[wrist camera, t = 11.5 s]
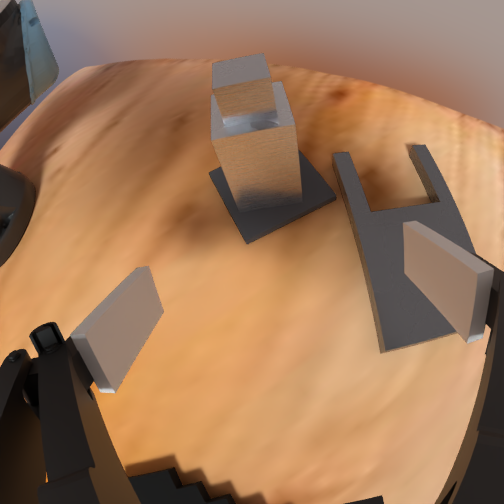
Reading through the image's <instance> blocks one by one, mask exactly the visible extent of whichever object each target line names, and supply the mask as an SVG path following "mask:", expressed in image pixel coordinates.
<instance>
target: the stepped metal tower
mask: <svg viewBox="0 0 504 504" xmlns="http://www.w3.org/2000/svg"><path fill="white" fill-rule="evenodd" d="M212 90H213V93H214V94H213V95H211V142H212V144H213V147H214V149H215V152H216V154H217V157H218V159H219V162H220V164H221V167H222V170H223V172H224V175H225V177H226V180H227V182H228V185H229V187H230V190H231V192H232V195H233V197H234V200H235V202H236V205H237V207H238V210H239V212H240V213H241V212H247V211H252V210H258V209H263V208H269V207H275V206H281V205H287V204H293V203H299V202H303V201H302V188H301V176H300V165H299V154H298V144H297V134H296V125H295V121H294V118H293V115H292V112H291V109H290V105H289V102H288V99H287V96H286V93H285V90H284V87H283V84H282V81H279V82H273V83H272V81H271V76H270V73H269V69H268V66H267V63H266V60H265V56H264V53H262V54H255V55H250V56H245V57H240V58H235V59H230V60H226V61H221V62H217V63H213V64H212Z"/></svg>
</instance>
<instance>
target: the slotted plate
mask: <svg viewBox="0 0 504 504" xmlns="http://www.w3.org/2000/svg"><path fill="white" fill-rule="evenodd" d="M409 156H410V158H411V160H412V162H413V164H414V166H415V168H416V170H417V172H418V174H419V176H420V178H421V180H422V183H423V185H424V187H425V189H426V191H427V193H428V196H429V198H430V200H431V202H432V203H429V204H422V205H415V206H408V207H401V208H395V209H388V210H381V211H374V212H371V211H370V208H369V205H368V202H367V200H366V197H365V194H364V191H363V188H362V185H361V183H360V180H359V177H358V175H357V172H356V169H355V167H354V164H353V162H352V159H351V157H350V154H349V152H342V153H335V154H333V164H332V165H333V168H334V171H335V174H336V177H337V180H338V183H339V186H340V189H341V192H342V196H343V199H344V202H345V205H346V209H347V212H348V215H349V219H350V222H351V226H352V229H353V233H354V237H355V240H356V244H357V248H358V252H359V255H360V259H361V263H362V267H363V271H364V276H365V280H366V284H367V288H368V293H369V297H370V302H371V306H372V311H373V316H374V321H375V326H376V331H377V336H378V342H379V347H380V353H386V352H390V351H394V350H398V349H402V348H406V347H410V346H414V345H418V344H421V343H425V342H429V341H432V340H436V339H439V338H442V337H446V336H449V335H452V334H455V333H458V332H457V331H456V330H455V329H454V327H453V326H452V325H451V324H450V323H449V322H448V320H447V319H446V318H445V317H444V316H443V315H442V314H441V312H440V311H439V310H438V309H437V308H436V307H435V306H434V305H433V303H432V302H431V301H430V300H429V299H428V298H427V297H426V296H425V295H424V294H423V293H422V291H421V290H420V289H419V288H418V287H417V286H416V285H415V284H414V283H413V282H412V281H411V280H410V279H409V278H408V277H407V275H406V274H405V273H404V235H403V223H404V222H410V221H417V222H419V223H421V224H423V225H425V226H426V227H428V228H430V229H431V230H433V231H435V232H437V233H438V234H440V235H442V236H443V237H445V238H447V239H448V240H450V241H452V242H453V243H455V244H456V245H458V246H460V247H461V248H463V249H464V250H466V251H468V252H471V253H474V254H476V252H475V250H474V247H473V244H472V242H471V239H470V236H469V234H468V231H467V229H466V227H465V224H464V222H463V219H462V217H461V215H460V212H459V210H458V208H457V206H456V203H455V201H454V199H453V197H452V195H451V193H450V191H449V189H448V186H447V184H446V182H445V180H444V178H443V176H442V174H441V173H440V171H439V169H438V167H437V165H436V163H435V161H434V159H433V158H432V156H431V154H430V152H429V150H428V149H427V147H426V145H412V148H411V152H410V155H409Z"/></svg>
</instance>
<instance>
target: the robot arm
mask: <svg viewBox="0 0 504 504" xmlns="http://www.w3.org/2000/svg"><path fill="white" fill-rule="evenodd" d="M58 74H59V67H58V65H57V62H56V60H55V57H54V55H53V52H52V50H51V48H50V45H49V43H48V41H47V38H46V36H45V33H44V31H43V28H42V26H41V23H40V21H39V18H38V16H37V13H36V10H35V7H34V5H33V2H32V0H22V1H20V2H19V4H17V3H16V1H15V0H0V132H2V131H3V130H4V129H5V128H6V126H8V125H9V124H10V123H11V122H12V121H13V120H14V119H15V118H16V117H17V116H18V115H19V114H20V113H21V112H23V111H24V110H25V109H26V108H27V107H28V106H29V105H30V104H32V105H33V104H34V103H35V100H36V99H37V98H38V97H39V96H40V95H41V94H43V93H44V92H45V91H46V90H47V89H48V88H49V87H50V86H52V85H53V84H54V83H55V81H56V79H57V77H58ZM34 202H35V187H34V185H33V183H32V182H31V181H30V180H29V179H28V178H27V177H26V176H25V175H23V174H22V173H20V172H16V171H14V170H12V169H10V168H8V167H6V166H3V165H1V164H0V266H1V265H2V264H3V263H4V262H5V261H6V260H7V259H8V257H9V256H10V255H11V253H12V252H13V250H14V249H15V247H16V246H17V244H18V242H19V241H20V239H21V237H22V235H23V233H24V231H25V229H26V227H27V224H28V222H29V219H30V217H31V214H32V210H33V207H34ZM403 235H404V273H405V274H406V275H407V277H408V278H409V279H410V280H411V281H412V282H413V283H414V284H415V285H416V286H417V287H418V288H419V289H420V290H421V291H422V293H423V294H424V295H425V296H426V297H427V298H428V299H429V300H430V301H431V302H432V303H433V305H434V306H435V307H436V308H437V309H438V310H439V311H440V312H441V314H442V315H443V316H444V317H445V318H446V319H447V320H448V322H449V323H450V324H451V325H452V326H453V327H454V329H455V330H456V331H457V332H458V333H459V335H460V336H461V337H462V338H463V339H464V341H465V342H466V343H470V342H473V341H476V340H479V339H481V338H483V334H484V329H485V325H486V324H487V325H488V326H489V327H490V328H491V332H490V337H489V341H488V345H487V349H486V353H485V354H486V359H485V364H484V369H483V373H482V378H481V382H480V386H479V390H478V394H477V398H476V401H475V405H474V408H473V412H472V415H471V418H470V422H469V425H468V428H467V431H466V434H465V437H464V439H463V442H462V445H461V448H460V450H459V453H458V455H457V458H456V460H455V463H454V465H453V468H452V470H451V472H450V475H449V477H448V479H447V481H446V483H445V485H444V488H443V490H442V492H441V493H440V495H439V497H438V499H437V500H436V502H435V504H504V272H503V271H501V270H500V269H498V268H497V267H495V266H494V265H492V264H491V263H489V262H488V261H486V260H483V258H481V257H480V256H478V255H477V254H474V253H471V252H468V251H466V250H464V249H463V248H461V247H460V246H458V245H456V244H455V243H453V242H452V241H450V240H448V239H447V238H445V237H443V236H442V235H440V234H438V233H437V232H435V231H433V230H431V229H430V228H428V227H426V226H425V225H423V224H421V223H419V222H417V221H410V222H404V223H403ZM163 313H164V310H163V307H162V305H161V302H160V299H159V296H158V293H157V290H156V287H155V284H154V281H153V277H152V274H151V271H150V268H149V266H145V267H139V268H136V269H135V270H134V271H133V272H132V273H131V274H130V275H129V276H128V277H127V278H126V279H124V280H123V281H122V282H121V283H120V284H119V285H118V286H117V287H116V288H115V289H114V290H113V291H112V292H111V293H110V294H109V295H108V296H107V297H106V298H105V299H104V300H103V301H102V302H101V303H100V304H99V305H98V306H97V307H96V308H95V309H94V310H93V311H92V312H91V313H90V314H89V315H88V316H87V317H86V318H85V320H84V321H83V322H82V323H81V324H80V325H79V326H78V327H77V328H76V329H75V330H74V331H73V332H72V333H71V334H70V337H69V338H68V339H67V340H66V341H65V340H64V338H63V336H62V334H61V332H60V330H59V328H58V326H57V324H56V323H55V322H49V323H46V324H43V325H41V326H39V327H37V328H36V329H34V330H33V331H32V332H31V333H30V336H29V337H30V339H31V341H32V343H33V345H34V347H35V349H36V351H37V352H38V354H39V356H38V357H37V358H33V359H31V358H30V356H29V354H28V353H27V351H26V350H25V349H19V350H17V351H16V350H15V351H13V352H11V353H10V354H9V355H8V356H7V357H6V358H5V360H4V361H3V363H2V365H1V367H0V504H141V502H140V501H139V499H138V497H137V495H136V493H135V491H134V489H133V487H132V485H131V483H130V481H129V479H128V477H127V475H126V473H125V471H124V469H123V467H122V464H121V462H120V460H119V458H118V455H117V453H116V451H115V449H114V446H113V444H112V441H111V439H110V436H109V434H108V431H107V429H106V426H105V424H104V421H103V418H102V415H101V413H100V410H99V407H98V404H97V401H96V398H95V395H94V393H93V391H92V390H91V388H90V386H91V384H92V383H93V381H94V382H95V384H96V385H97V387H98V389H99V390H100V392H106V393H116V391H117V390H118V388H119V386H120V384H121V383H122V381H123V379H124V378H125V376H126V374H127V372H128V371H129V369H130V367H131V366H132V364H133V362H134V360H135V359H136V357H137V355H138V354H139V352H140V350H141V349H142V347H143V345H144V344H145V342H146V340H147V339H148V337H149V336H150V334H151V332H152V331H153V329H154V327H155V326H156V324H157V322H158V321H159V319H160V318H161V316H162V314H163ZM24 398H25V399H24ZM25 400H26V401H27V402H26V401H25ZM46 472H47V477H48V482H47V483H46ZM345 504H384V502H383V497H382V495H381V496H377V497H373V498H369V499H365V500H360V501H355V502H350V503H345Z"/></svg>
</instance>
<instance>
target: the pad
mask: <svg viewBox="0 0 504 504" xmlns="http://www.w3.org/2000/svg"><path fill="white" fill-rule="evenodd" d="M298 154H299V165H300V176H301V188H302V201H303V202H299V203H293V204H287V205H281V206H275V207H269V208H263V209H258V210H252V211H247V212H241V213H240V212H239V210H238V207H237V205H236V202H235V200H234V197H233V195H232V192H231V190H230V187H229V185H228V182H227V180H226V177H225V175H224V172H223V170H222V167H219V168H217V169H215V170H213V171H211V172H209V175H210V177H211V179H212V181H213V183H214V184H215V186H216V188H217V190H218V192H219V194H220V196H221V197H222V199H223V201H224V203H225V205H226V207H227V209H228V210H229V212H230V214H231V216H232V218H233V220H234V222H235V224H236V225H237V227H238V229H239V231H240V233H241V235H242V237H243V238H244V240H245V242H246V244H249V243H251V242H253V241H255V240H257V239H259V238H261V237H263V236H265V235H267V234H269V233H271V232H273V231H275V230H277V229H279V228H281V227H282V226H284V225H286V224H288V223H290V222H292V221H294V220H296V219H298V218H300V217H302V216H304V215H306V214H308V213H310V212H312V211H314V210H316V209H318V208H320V207H322V206H324V205H326V204H328V203H330V202H332V201H334V200H336V194H335V193H334V192H333V190H332V189H331V188H330V187H329V185H328V184H327V183H326V182H325V180H324V179H323V178H322V177H321V175H320V174H319V173H318V172H317V171H316V169H315V168H314V167H313V166H312V165H311V163H310V162H309V161H308V160H307V159H306V158H305V156H304V155H303V154H302V153H301V152H300V151H299V149H298Z"/></svg>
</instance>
